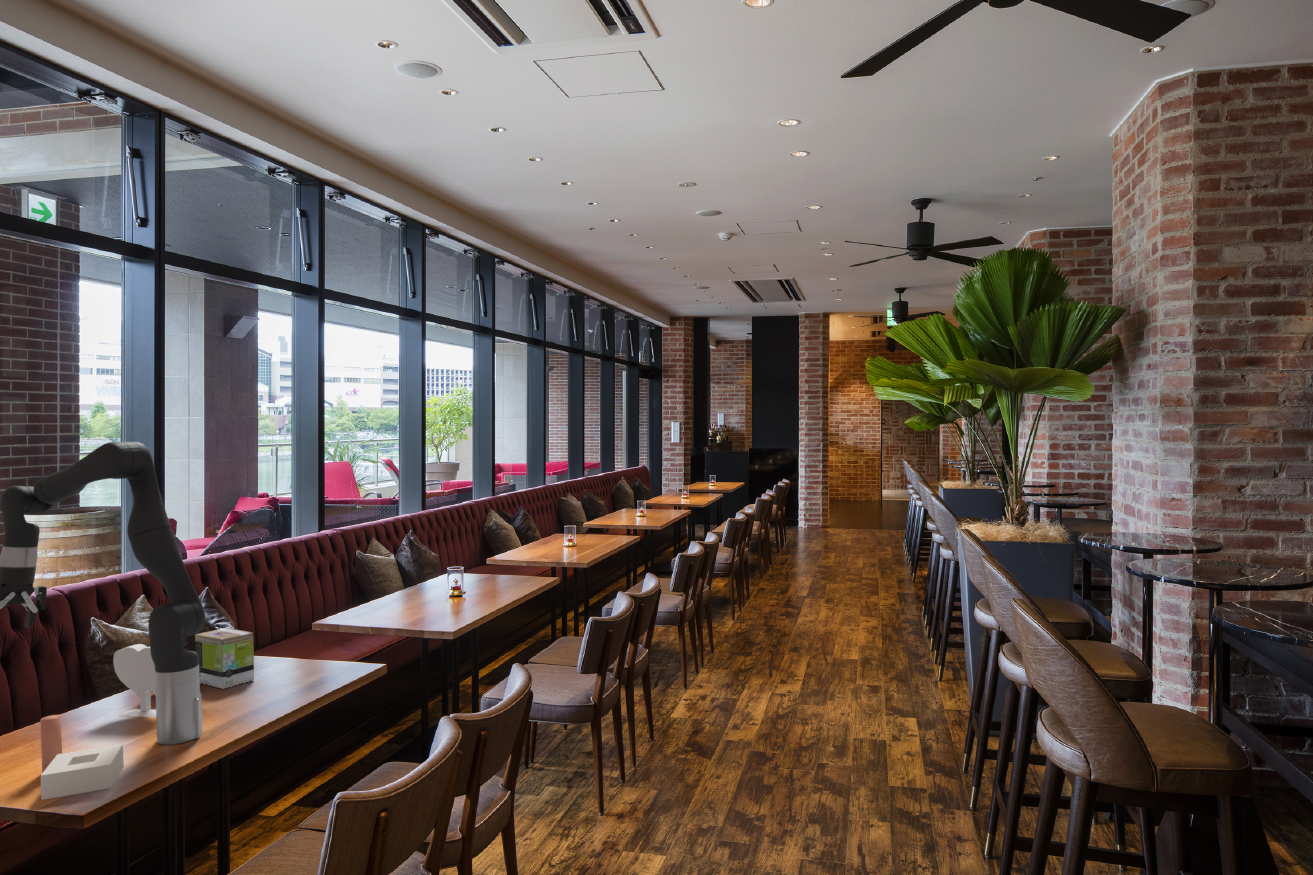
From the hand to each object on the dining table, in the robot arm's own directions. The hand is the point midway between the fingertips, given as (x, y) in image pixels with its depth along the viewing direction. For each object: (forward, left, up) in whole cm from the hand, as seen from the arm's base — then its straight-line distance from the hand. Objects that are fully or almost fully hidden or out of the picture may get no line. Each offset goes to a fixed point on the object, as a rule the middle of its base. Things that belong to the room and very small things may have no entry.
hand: (8, 629), depth 202 cm
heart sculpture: (-29, 0, -26) cm, 39 cm away
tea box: (-46, -21, -26) cm, 57 cm away
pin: (-17, +35, -26) cm, 47 cm away
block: (-25, +45, -26) cm, 58 cm away
